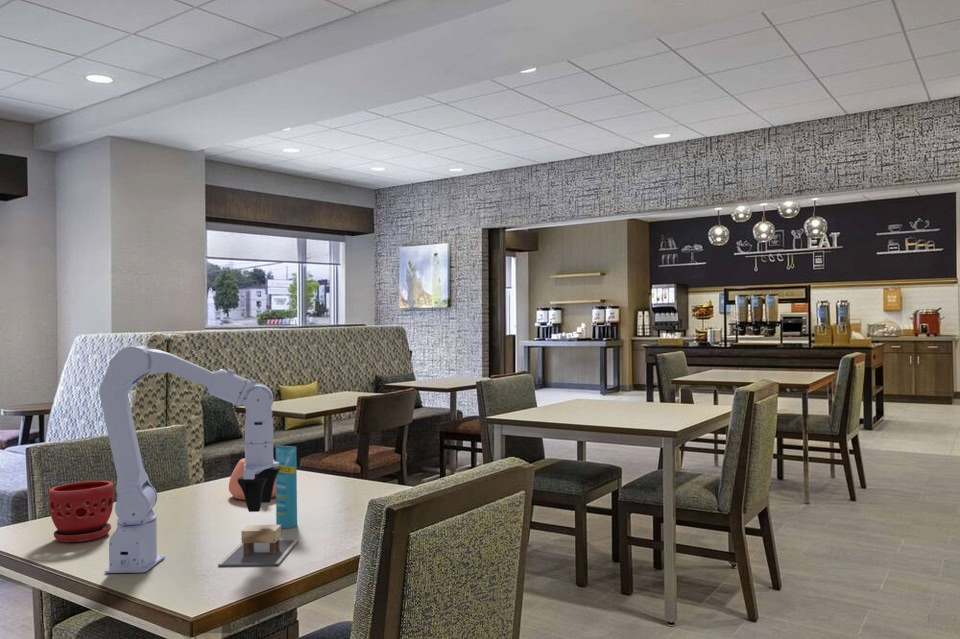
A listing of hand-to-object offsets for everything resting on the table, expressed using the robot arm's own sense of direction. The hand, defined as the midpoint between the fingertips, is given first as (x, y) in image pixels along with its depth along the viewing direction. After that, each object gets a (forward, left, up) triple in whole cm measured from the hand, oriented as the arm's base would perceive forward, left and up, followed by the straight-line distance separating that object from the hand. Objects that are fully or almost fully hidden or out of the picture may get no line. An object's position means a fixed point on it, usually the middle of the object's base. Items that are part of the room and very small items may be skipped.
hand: (259, 506), depth 154 cm
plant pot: (+14, +45, -10) cm, 48 cm away
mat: (0, 0, -10) cm, 10 cm away
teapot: (+53, +17, -10) cm, 57 cm away
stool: (0, 0, -9) cm, 9 cm away
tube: (+21, 0, -10) cm, 23 cm away
